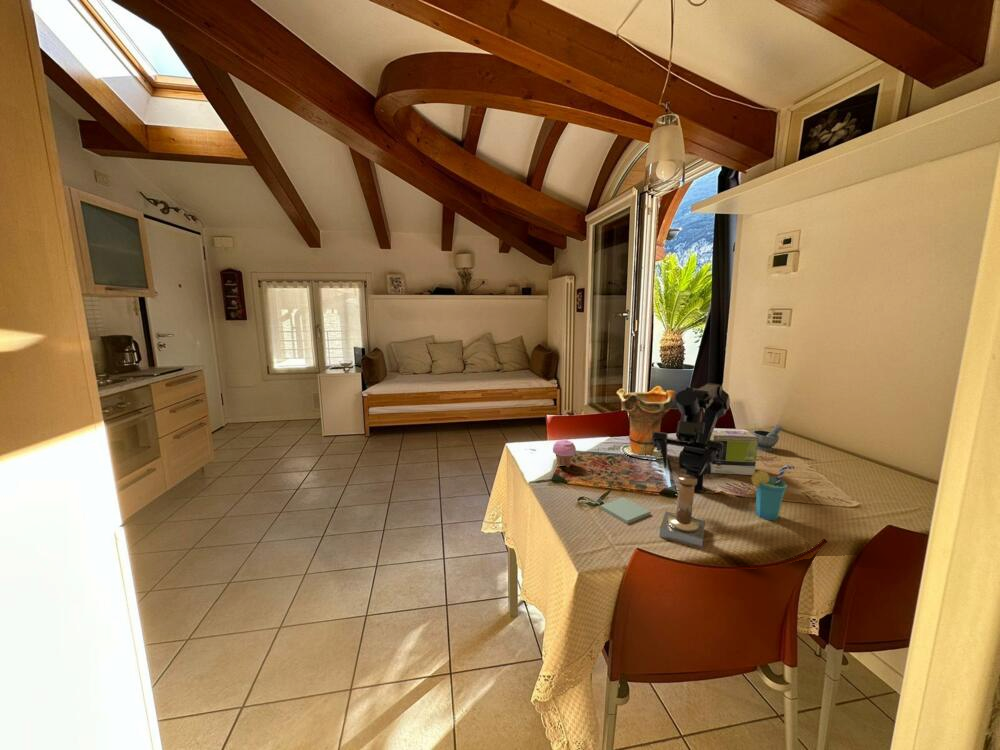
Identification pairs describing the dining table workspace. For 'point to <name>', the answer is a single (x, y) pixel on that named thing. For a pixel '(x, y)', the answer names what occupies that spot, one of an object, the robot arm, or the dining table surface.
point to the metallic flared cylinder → (685, 505)
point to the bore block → (682, 533)
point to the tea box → (735, 451)
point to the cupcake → (564, 452)
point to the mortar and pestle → (767, 438)
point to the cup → (769, 493)
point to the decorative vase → (645, 418)
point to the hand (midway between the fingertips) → (681, 470)
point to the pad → (625, 510)
